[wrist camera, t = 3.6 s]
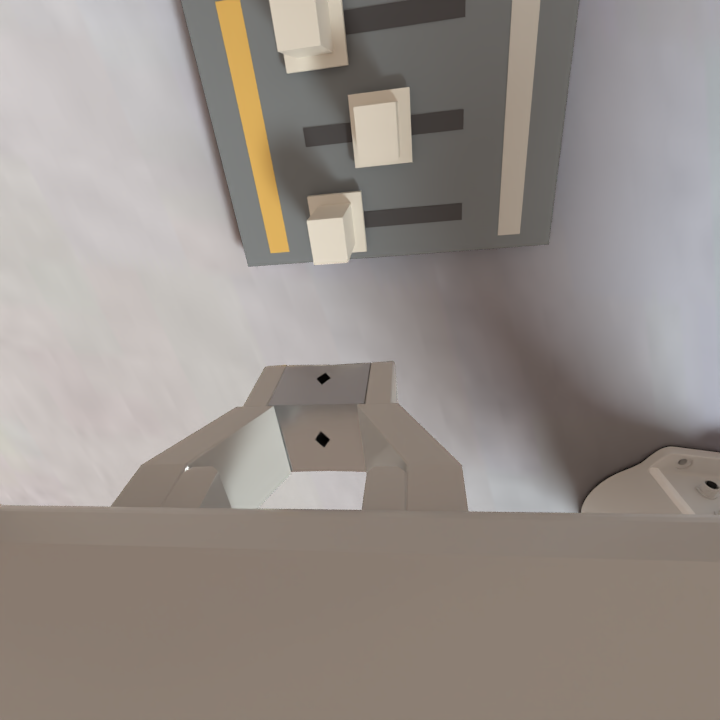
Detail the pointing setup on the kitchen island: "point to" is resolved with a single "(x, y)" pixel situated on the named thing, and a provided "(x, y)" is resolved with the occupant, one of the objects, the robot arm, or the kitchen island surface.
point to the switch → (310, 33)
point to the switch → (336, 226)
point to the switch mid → (381, 127)
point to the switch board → (428, 122)
